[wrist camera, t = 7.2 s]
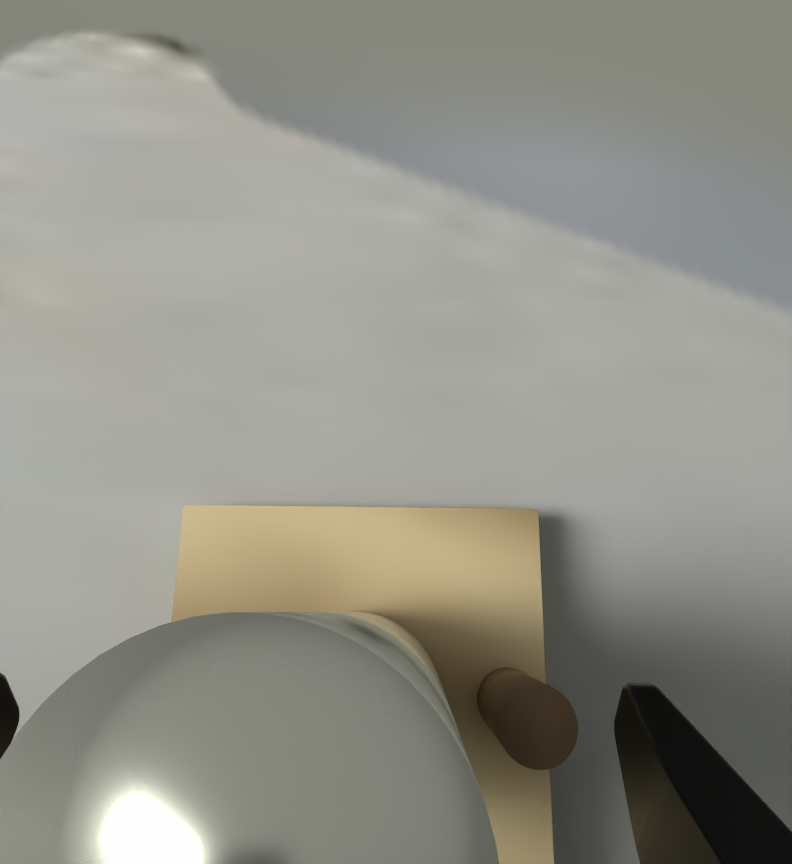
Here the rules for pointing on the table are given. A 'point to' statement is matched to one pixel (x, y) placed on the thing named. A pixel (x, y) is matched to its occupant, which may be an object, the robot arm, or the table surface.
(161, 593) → the table surface
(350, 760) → the silver metal cylinder
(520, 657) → the peg rack
